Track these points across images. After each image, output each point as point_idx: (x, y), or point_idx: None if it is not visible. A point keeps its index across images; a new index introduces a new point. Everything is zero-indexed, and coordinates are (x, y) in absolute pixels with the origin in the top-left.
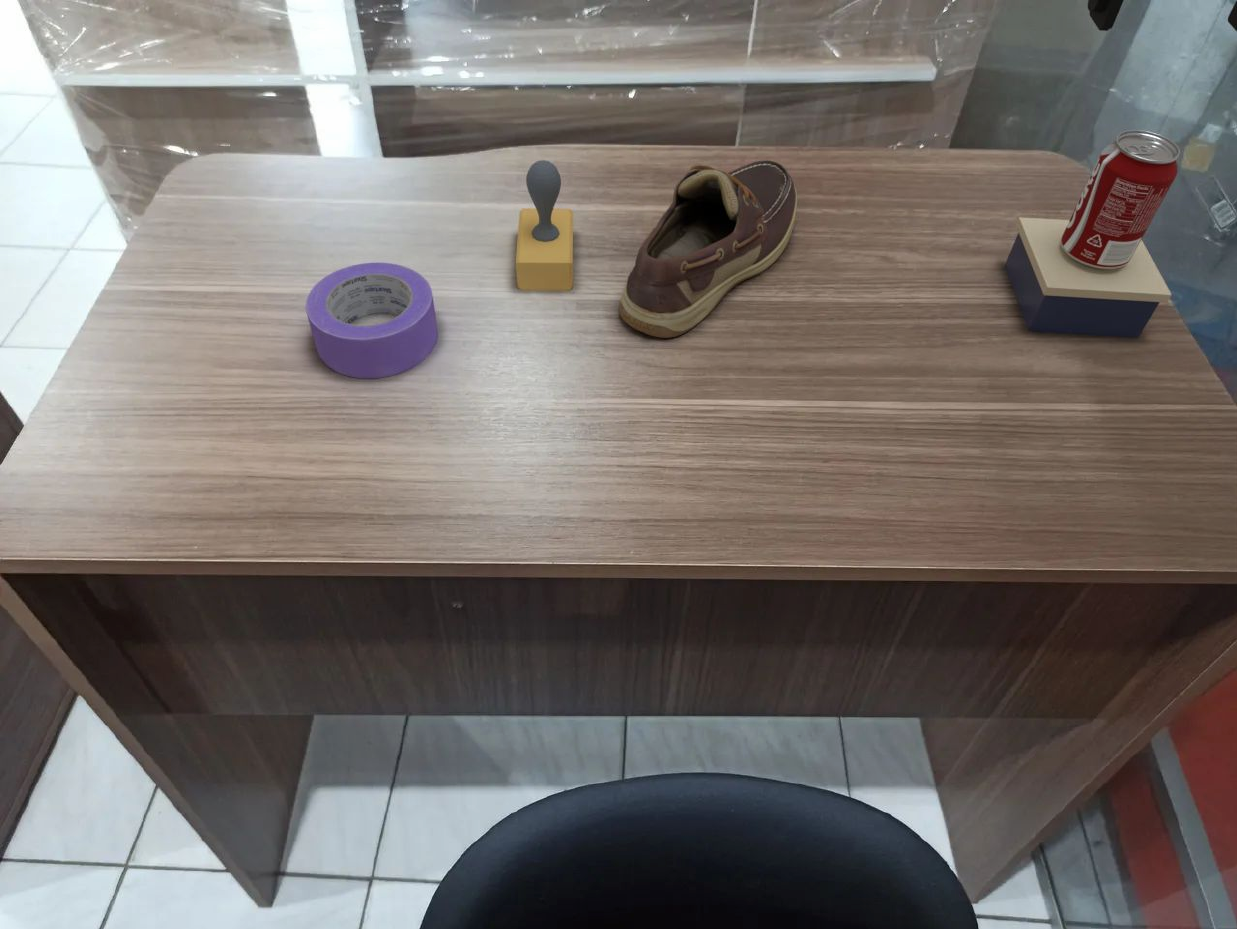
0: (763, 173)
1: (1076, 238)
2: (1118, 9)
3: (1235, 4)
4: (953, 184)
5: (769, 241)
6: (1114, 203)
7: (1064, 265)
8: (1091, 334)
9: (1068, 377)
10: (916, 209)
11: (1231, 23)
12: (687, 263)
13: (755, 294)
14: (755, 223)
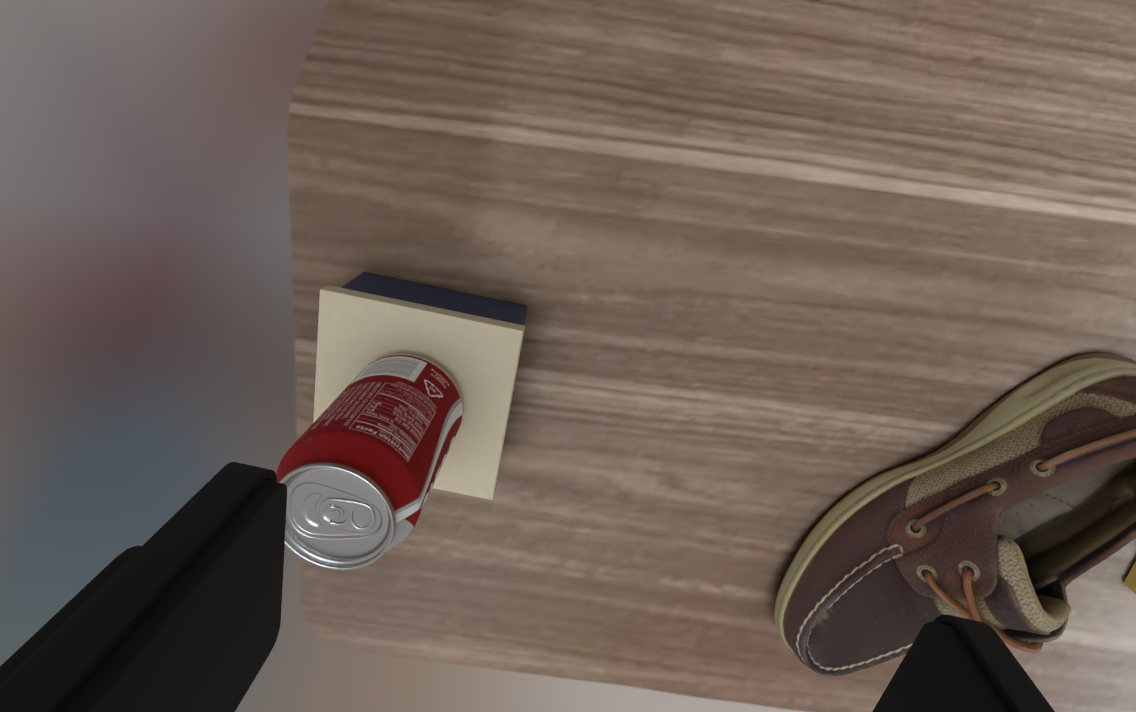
0: (840, 649)
1: (453, 409)
2: (993, 703)
3: (240, 695)
4: (501, 620)
5: (882, 514)
6: (410, 425)
7: (470, 379)
8: (433, 287)
9: (507, 201)
10: (579, 577)
11: (279, 600)
12: None
13: (906, 432)
14: (931, 535)
